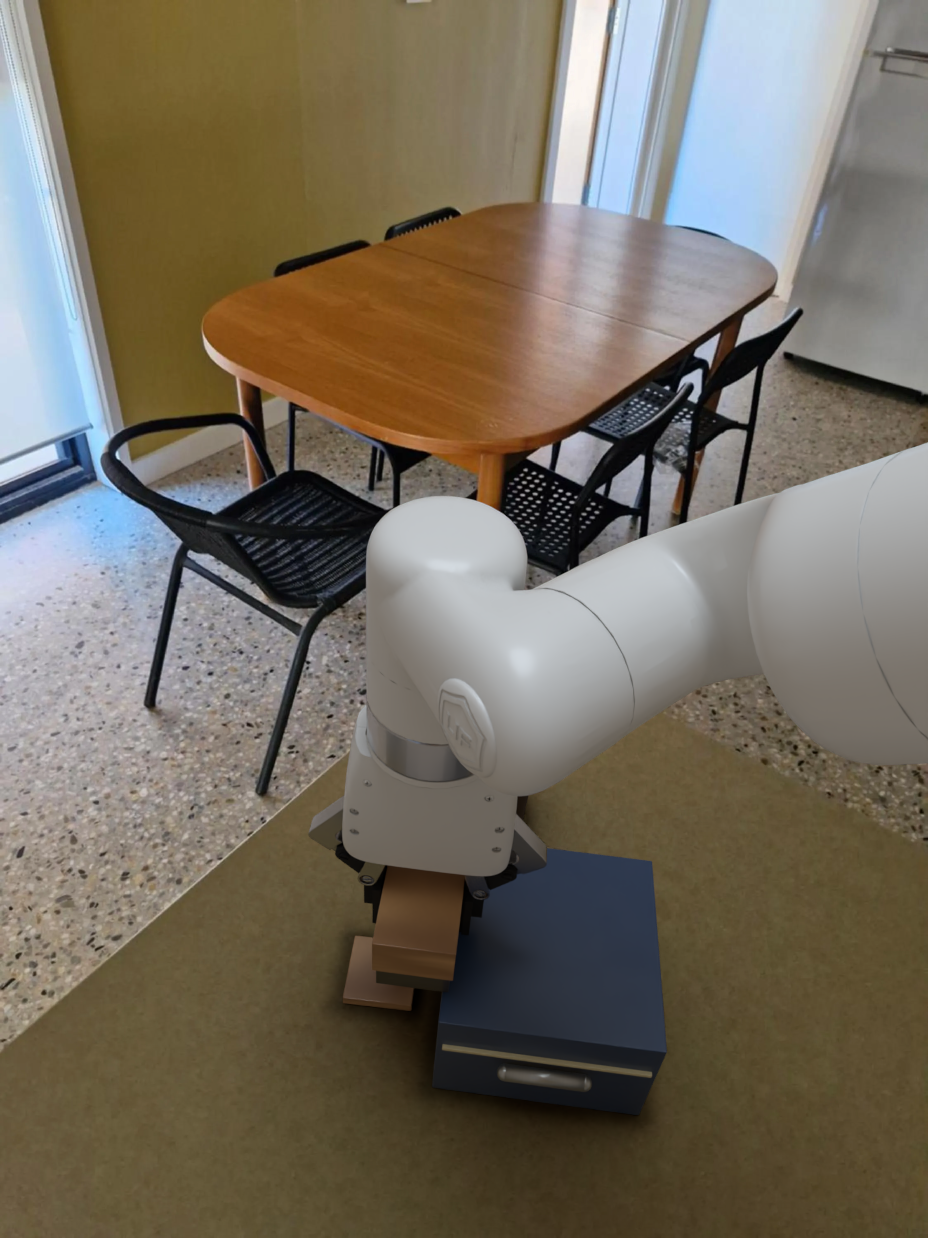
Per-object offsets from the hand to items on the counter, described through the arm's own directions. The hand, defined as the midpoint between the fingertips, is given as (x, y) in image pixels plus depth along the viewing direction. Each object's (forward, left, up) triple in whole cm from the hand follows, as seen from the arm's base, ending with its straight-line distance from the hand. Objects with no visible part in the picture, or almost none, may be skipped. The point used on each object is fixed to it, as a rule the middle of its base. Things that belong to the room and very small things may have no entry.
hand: (423, 908), depth 59 cm
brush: (0, 0, -1) cm, 1 cm away
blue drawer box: (0, -9, -10) cm, 13 cm away
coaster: (+1, +3, -9) cm, 10 cm away
